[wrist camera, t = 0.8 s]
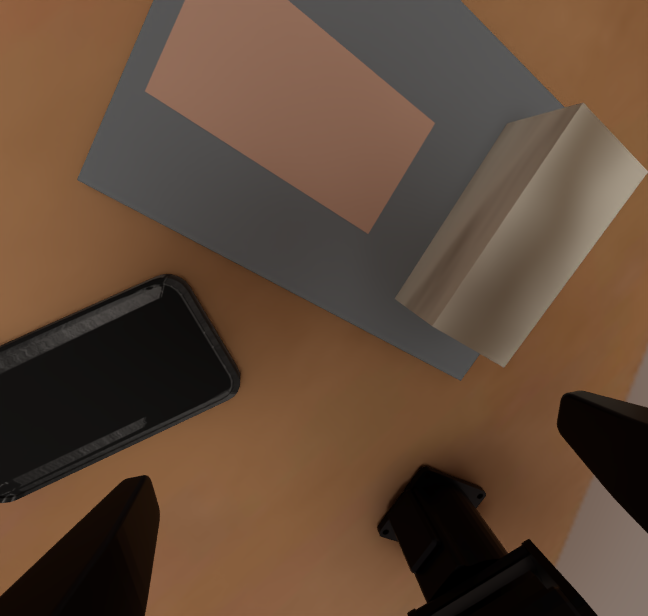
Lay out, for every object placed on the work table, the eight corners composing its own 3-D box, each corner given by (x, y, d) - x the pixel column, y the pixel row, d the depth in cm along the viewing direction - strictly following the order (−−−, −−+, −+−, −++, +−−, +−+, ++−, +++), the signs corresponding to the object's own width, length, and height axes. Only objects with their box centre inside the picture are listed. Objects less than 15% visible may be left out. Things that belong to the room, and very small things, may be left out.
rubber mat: (612, 162, 21) (618, 161, 20) (458, 378, 23) (461, 381, 23) (246, -210, 13) (247, -221, 13) (80, 180, 16) (76, 179, 15)
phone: (-124, 402, 16) (174, 269, 17) (-100, 389, 17) (179, 265, 18) (-3, 510, 19) (248, 393, 20) (11, 494, 20) (248, 382, 21)
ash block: (564, 176, 20) (647, 171, 16) (455, 334, 22) (504, 367, 18) (507, 123, 18) (582, 102, 14) (394, 298, 20) (432, 326, 16)
